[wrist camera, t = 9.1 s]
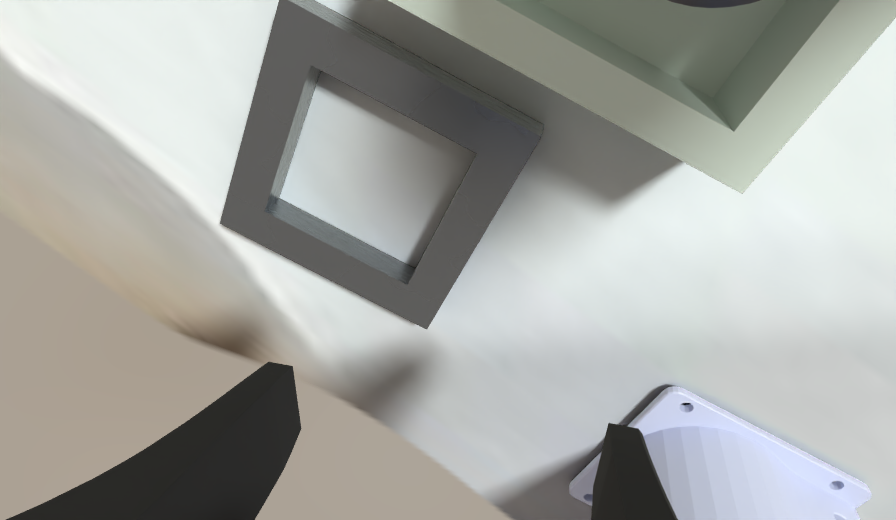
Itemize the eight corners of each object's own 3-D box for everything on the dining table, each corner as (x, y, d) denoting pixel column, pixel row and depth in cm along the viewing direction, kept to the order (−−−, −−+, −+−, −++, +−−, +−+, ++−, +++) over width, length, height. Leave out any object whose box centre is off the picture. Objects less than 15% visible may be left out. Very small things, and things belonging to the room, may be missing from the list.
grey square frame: (543, 124, 19) (541, 136, 18) (433, 311, 24) (426, 329, 23) (297, -9, 19) (280, -5, 18) (235, 209, 23) (219, 223, 22)
